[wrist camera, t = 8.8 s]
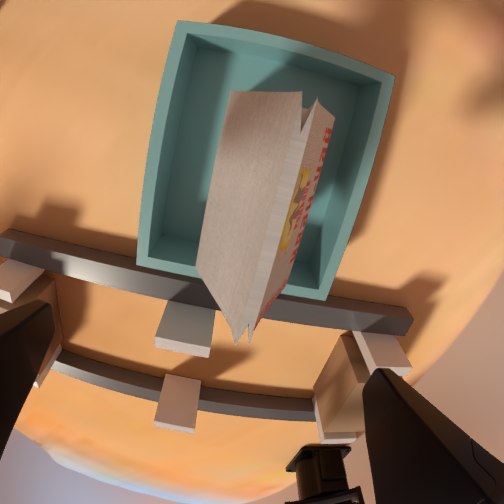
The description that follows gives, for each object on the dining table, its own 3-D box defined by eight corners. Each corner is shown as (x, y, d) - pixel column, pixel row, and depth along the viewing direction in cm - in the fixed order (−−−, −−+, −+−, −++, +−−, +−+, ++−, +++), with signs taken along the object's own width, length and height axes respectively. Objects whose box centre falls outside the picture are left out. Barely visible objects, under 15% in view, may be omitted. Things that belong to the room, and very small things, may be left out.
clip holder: (343, 410, 26) (354, 450, 21) (32, 349, 23) (9, 383, 18) (406, 307, 21) (434, 349, 16) (8, 228, 18) (-32, 256, 13)
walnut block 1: (64, 336, 22) (39, 376, 17) (29, 324, 21) (2, 359, 17) (55, 278, 19) (21, 315, 15) (18, 266, 19) (-17, 299, 14)
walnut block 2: (352, 388, 25) (367, 431, 20) (313, 386, 24) (322, 432, 20) (382, 339, 22) (405, 383, 18) (340, 334, 22) (357, 383, 17)
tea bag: (210, 219, 17) (175, 334, 8) (236, 101, 15) (220, 73, 5) (274, 232, 18) (301, 355, 9) (304, 117, 15) (384, 119, 6)
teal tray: (313, 270, 19) (325, 300, 16) (153, 239, 18) (136, 264, 15) (368, 82, 14) (395, 76, 11) (190, 38, 13) (177, 20, 10)
